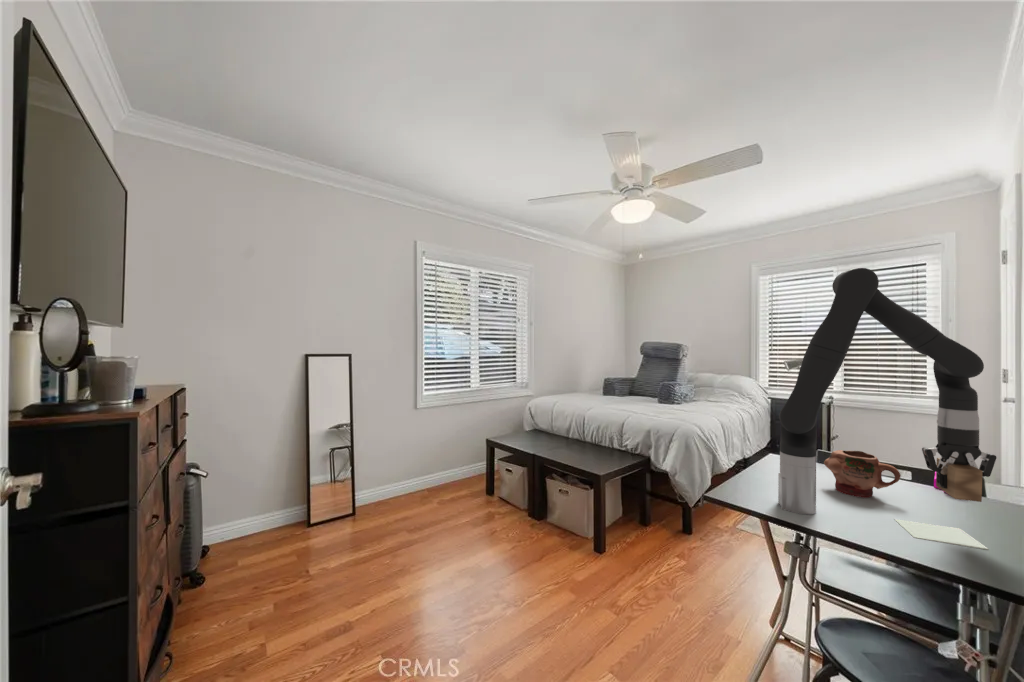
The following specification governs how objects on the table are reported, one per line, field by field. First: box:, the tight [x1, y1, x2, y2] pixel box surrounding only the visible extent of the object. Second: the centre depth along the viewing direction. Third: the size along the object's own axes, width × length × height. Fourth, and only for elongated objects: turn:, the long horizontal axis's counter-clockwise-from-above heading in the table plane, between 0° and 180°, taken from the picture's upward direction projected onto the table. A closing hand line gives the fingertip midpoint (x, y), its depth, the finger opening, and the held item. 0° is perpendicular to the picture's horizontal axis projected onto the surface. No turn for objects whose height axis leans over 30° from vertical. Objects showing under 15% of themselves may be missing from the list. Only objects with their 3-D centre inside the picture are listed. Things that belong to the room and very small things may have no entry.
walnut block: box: [936, 457, 983, 503], centre depth 107 cm, size 5×9×8 cm, turn 155°
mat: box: [893, 518, 989, 551], centre depth 109 cm, size 14×12×1 cm
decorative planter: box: [823, 449, 902, 499], centre depth 137 cm, size 20×12×14 cm, turn 42°
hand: (957, 488), depth 107 cm, fingers closed on walnut block, 5 cm apart
